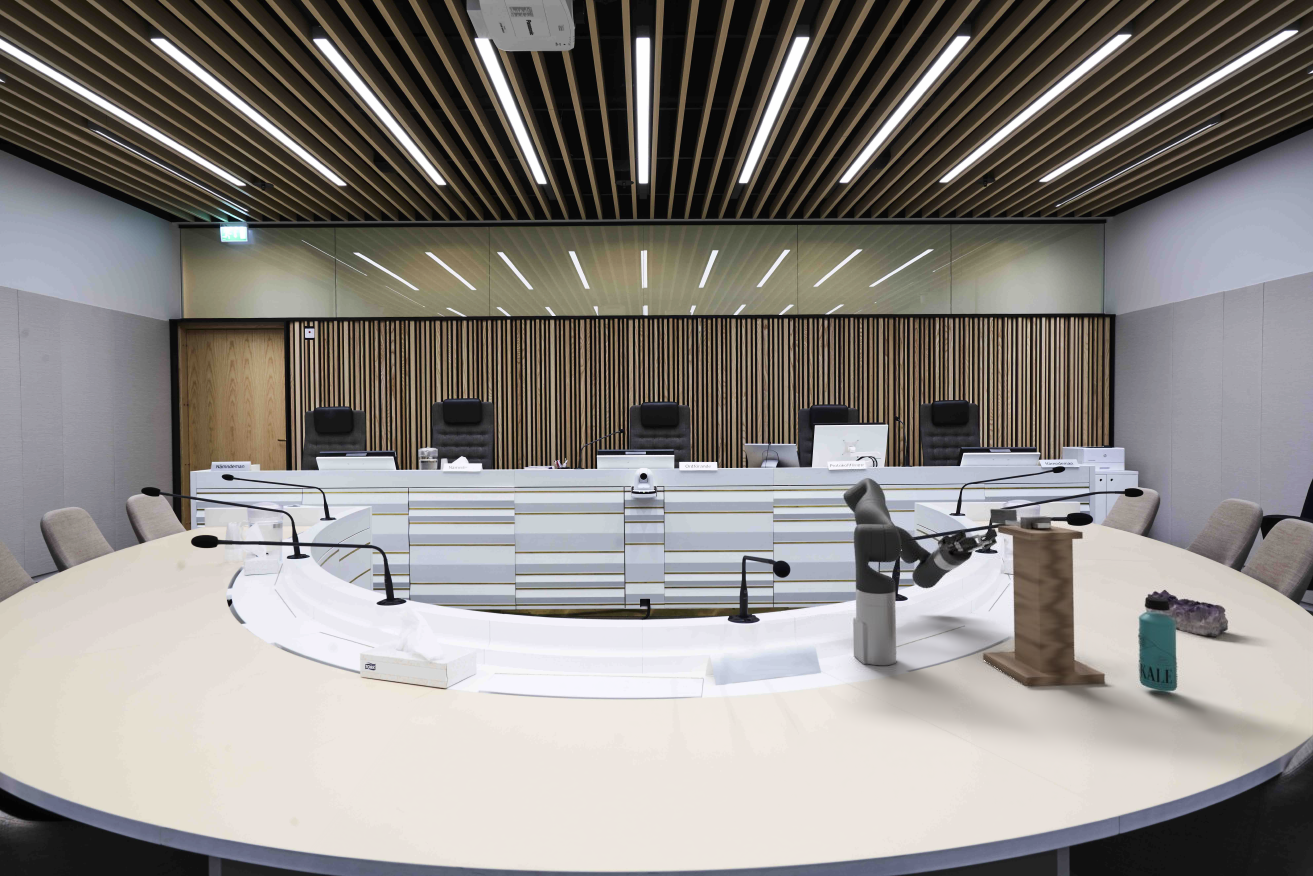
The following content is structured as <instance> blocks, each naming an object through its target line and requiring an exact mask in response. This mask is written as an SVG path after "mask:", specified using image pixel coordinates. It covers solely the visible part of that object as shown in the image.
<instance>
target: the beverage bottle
mask: <svg viewBox="0 0 1313 876" xmlns="http://www.w3.org/2000/svg"><path fill="white" fill-rule="evenodd" d="M1144 608H1145V609H1146V608H1149V609H1153V610H1161V611H1167V610H1170V607H1169V601H1168V600H1167V599H1164V598H1159V597H1148V596H1146V597H1145V600H1144ZM1138 623H1139V624H1138V625H1139V626H1138V635H1137V637H1138V644H1139V645H1138V646H1139V648H1138V652H1139V653H1138V663H1139V670H1138V672H1139V673H1138V677H1139V678H1138V680H1139V681H1140V684H1141V685H1142V686H1144V687H1145V688H1150V689H1153V690H1157V691H1162V692H1164V691H1165V692H1174V691H1176V690H1177V688H1178V677H1179V676H1178V674H1177V672H1178V660H1177V629H1176V621H1175V620H1174V619H1173V618H1172V617H1170V616H1169V615H1167V614H1164V613H1159V612H1147V611H1145V612H1143V613H1141V614H1140V615H1139V617H1138Z"/></svg>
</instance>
